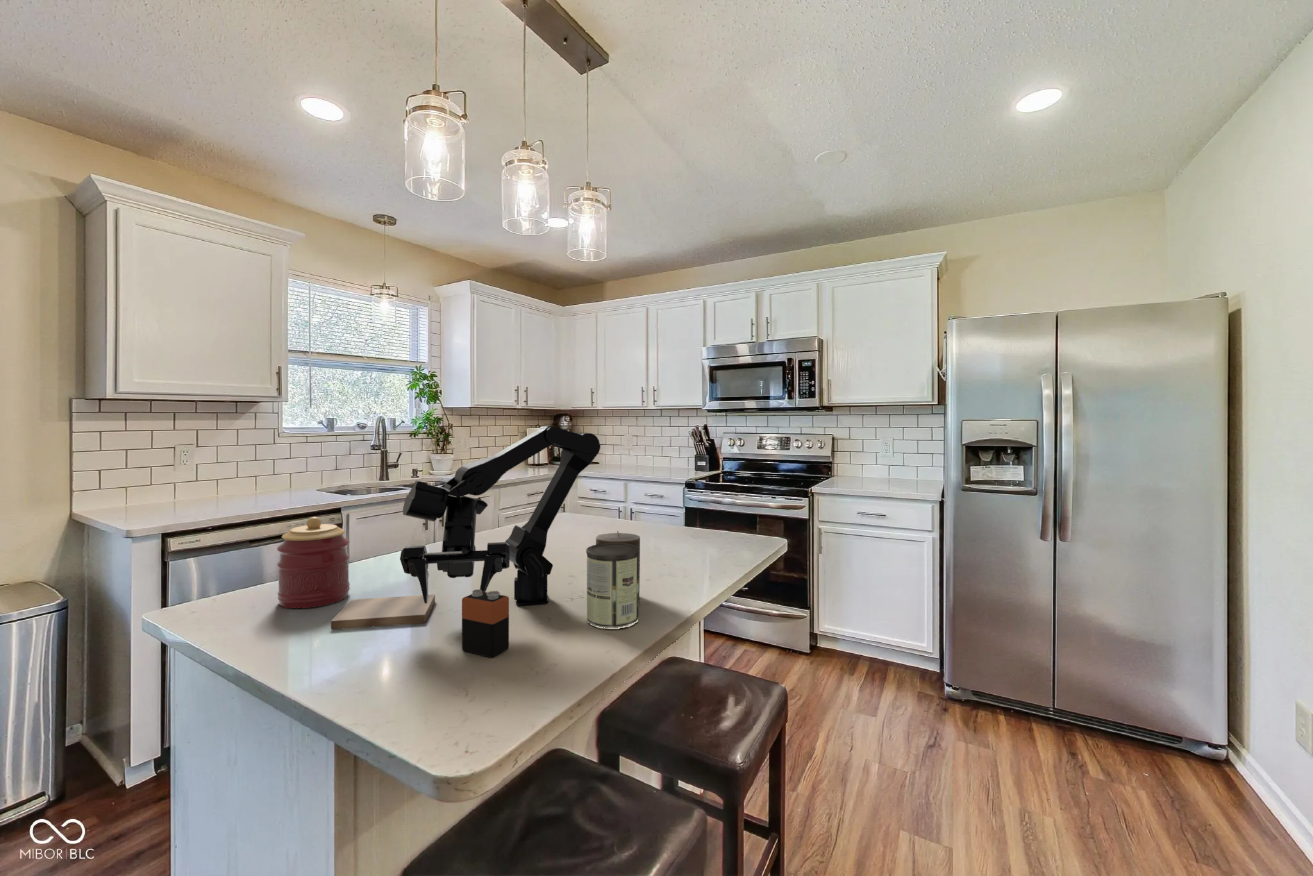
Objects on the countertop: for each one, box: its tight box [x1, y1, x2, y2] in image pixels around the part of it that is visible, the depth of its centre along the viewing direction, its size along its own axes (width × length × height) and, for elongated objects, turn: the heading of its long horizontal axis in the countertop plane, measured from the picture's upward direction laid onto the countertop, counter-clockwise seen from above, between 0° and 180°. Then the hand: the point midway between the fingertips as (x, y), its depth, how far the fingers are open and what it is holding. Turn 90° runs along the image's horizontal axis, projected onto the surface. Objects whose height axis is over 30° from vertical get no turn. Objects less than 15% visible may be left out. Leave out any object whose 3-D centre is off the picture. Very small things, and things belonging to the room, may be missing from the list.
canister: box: [276, 516, 351, 610], centre depth 115 cm, size 13×13×18 cm
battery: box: [461, 588, 510, 658], centre depth 91 cm, size 4×7×10 cm, turn 66°
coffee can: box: [585, 543, 641, 628], centre depth 105 cm, size 10×10×14 cm
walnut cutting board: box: [330, 594, 436, 630], centre depth 107 cm, size 16×12×2 cm
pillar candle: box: [595, 530, 641, 589], centre depth 117 cm, size 10×10×15 cm
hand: (453, 600), depth 95 cm, fingers open, 9 cm apart
